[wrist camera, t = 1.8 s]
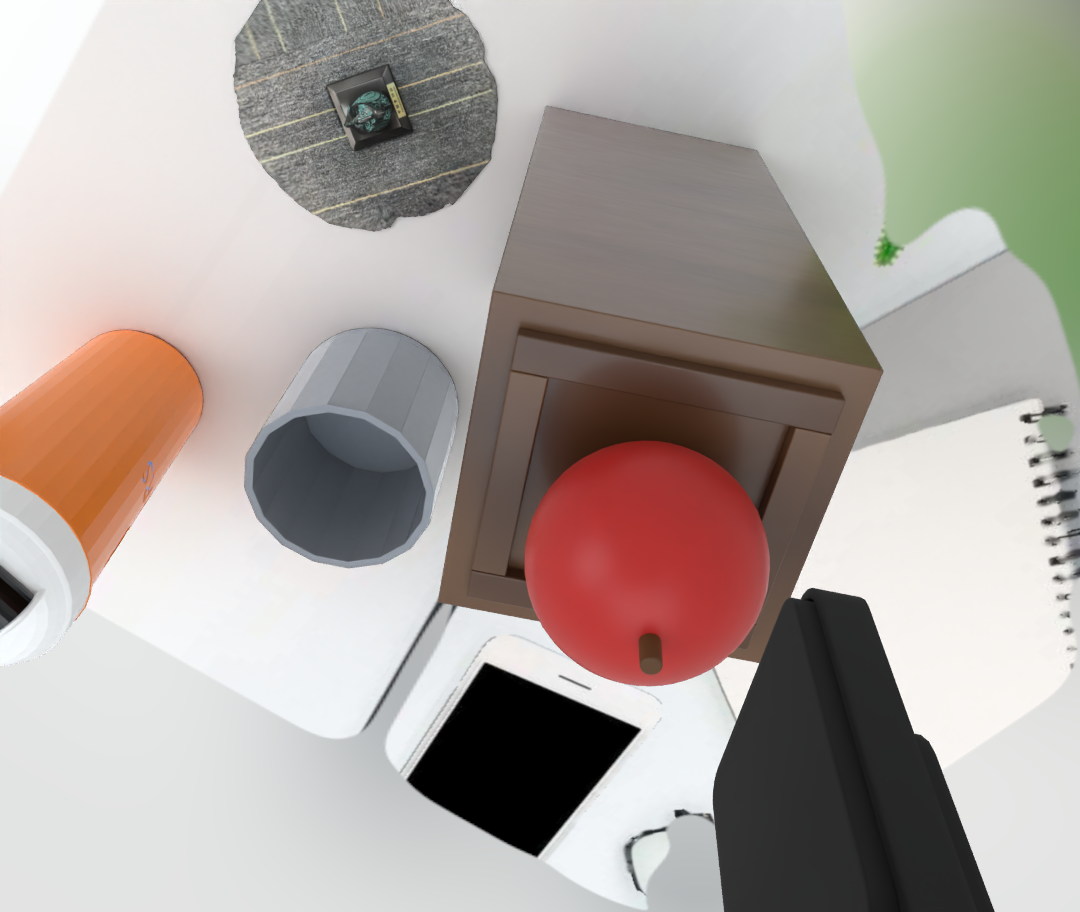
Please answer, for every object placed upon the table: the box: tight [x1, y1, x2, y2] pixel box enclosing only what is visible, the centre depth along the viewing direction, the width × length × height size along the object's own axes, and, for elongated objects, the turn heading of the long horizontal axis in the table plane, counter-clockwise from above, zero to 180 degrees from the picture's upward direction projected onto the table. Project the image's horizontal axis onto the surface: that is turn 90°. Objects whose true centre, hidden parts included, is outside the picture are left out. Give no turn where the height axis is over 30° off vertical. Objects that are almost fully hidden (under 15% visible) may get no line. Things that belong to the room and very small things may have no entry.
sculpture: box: [233, 0, 497, 231], centre depth 45 cm, size 12×9×8 cm
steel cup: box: [244, 328, 459, 568], centre depth 49 cm, size 9×9×9 cm
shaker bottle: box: [0, 330, 203, 667], centre depth 45 cm, size 9×9×20 cm
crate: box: [438, 106, 883, 663], centre depth 37 cm, size 10×10×24 cm
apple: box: [525, 441, 770, 686], centre depth 24 cm, size 6×6×7 cm
